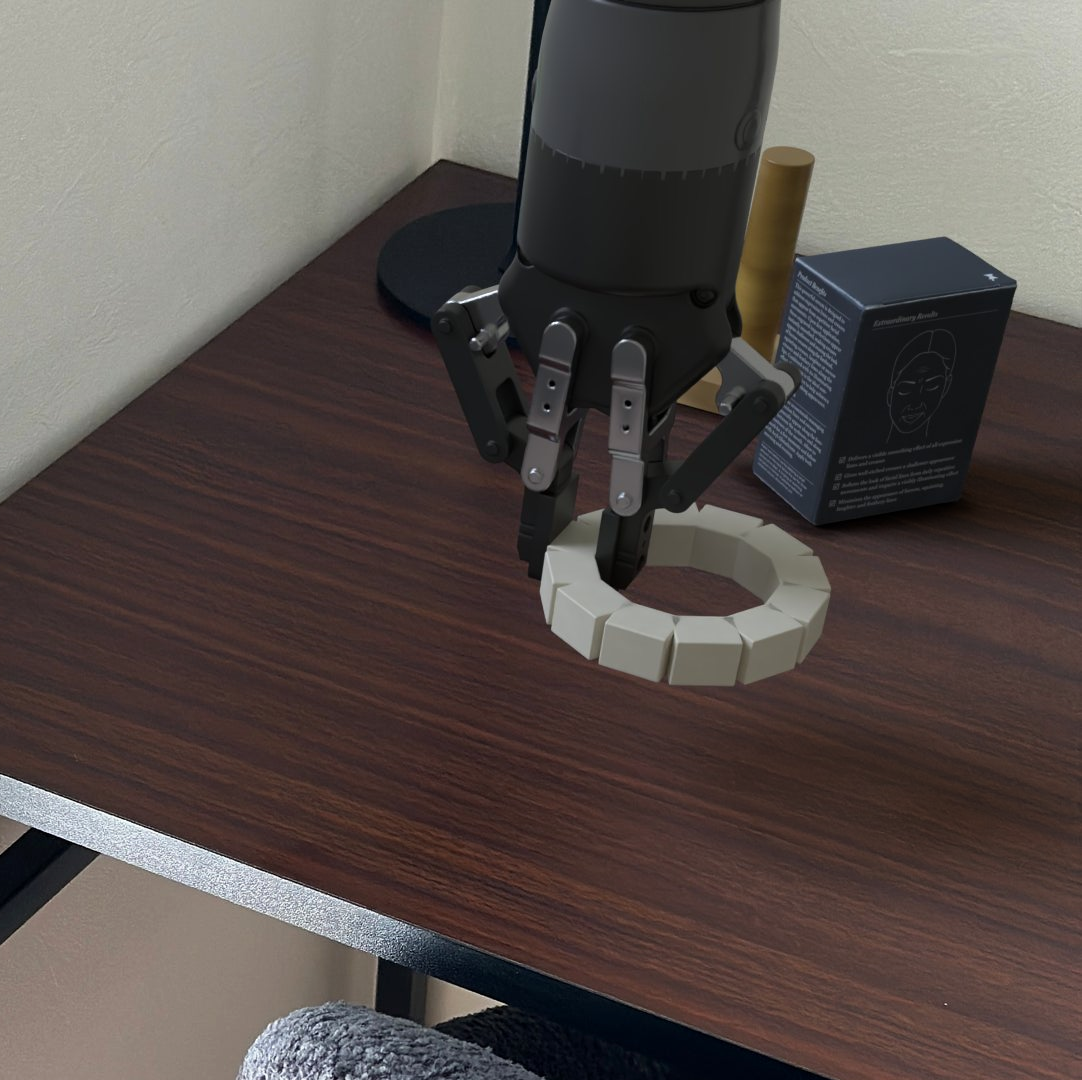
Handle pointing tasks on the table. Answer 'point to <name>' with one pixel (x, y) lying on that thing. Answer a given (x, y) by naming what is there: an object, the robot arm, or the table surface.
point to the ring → (691, 641)
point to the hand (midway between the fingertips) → (576, 578)
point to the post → (765, 259)
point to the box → (884, 378)
